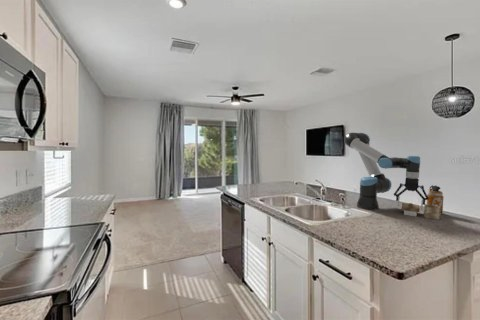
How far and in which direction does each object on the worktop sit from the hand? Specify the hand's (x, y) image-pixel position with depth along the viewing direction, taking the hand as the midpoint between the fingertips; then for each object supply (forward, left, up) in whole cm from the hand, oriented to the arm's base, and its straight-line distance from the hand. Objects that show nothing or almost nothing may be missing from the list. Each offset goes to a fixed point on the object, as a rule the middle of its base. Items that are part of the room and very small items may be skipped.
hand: (409, 207), depth 170 cm
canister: (+14, +13, -4) cm, 20 cm away
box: (+12, 0, -4) cm, 13 cm away
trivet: (0, 0, -4) cm, 4 cm away
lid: (0, 0, -1) cm, 1 cm away
